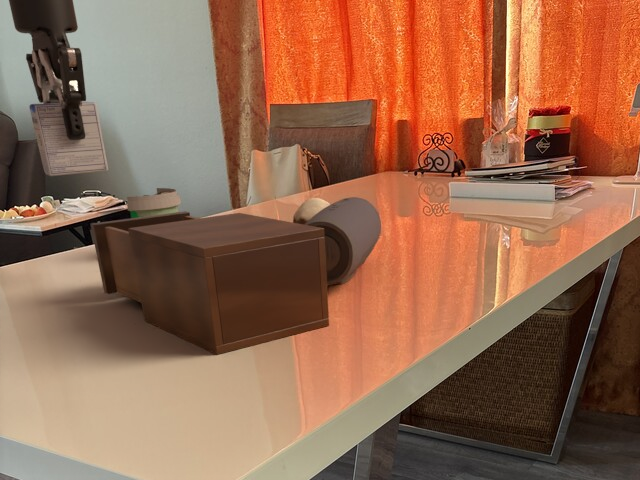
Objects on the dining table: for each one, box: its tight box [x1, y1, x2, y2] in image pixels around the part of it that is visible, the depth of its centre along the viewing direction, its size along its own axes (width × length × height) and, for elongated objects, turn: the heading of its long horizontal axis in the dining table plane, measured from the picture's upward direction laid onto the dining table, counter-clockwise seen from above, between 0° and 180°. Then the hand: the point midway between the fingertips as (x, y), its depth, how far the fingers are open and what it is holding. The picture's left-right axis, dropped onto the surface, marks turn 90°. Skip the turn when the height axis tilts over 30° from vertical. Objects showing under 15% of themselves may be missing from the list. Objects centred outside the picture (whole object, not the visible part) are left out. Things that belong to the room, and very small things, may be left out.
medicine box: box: [29, 101, 109, 177], centre depth 97 cm, size 8×4×9 cm, turn 122°
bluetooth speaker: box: [304, 196, 382, 286], centre depth 102 cm, size 23×9×10 cm, turn 169°
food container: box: [126, 187, 182, 219], centre depth 122 cm, size 12×6×10 cm, turn 170°
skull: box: [292, 197, 331, 225], centre depth 127 cm, size 12×10×10 cm
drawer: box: [90, 210, 200, 303], centre depth 94 cm, size 21×14×9 cm, turn 39°
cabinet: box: [128, 212, 330, 355], centre depth 82 cm, size 18×15×11 cm
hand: (69, 138), depth 97 cm, fingers closed on medicine box, 4 cm apart
